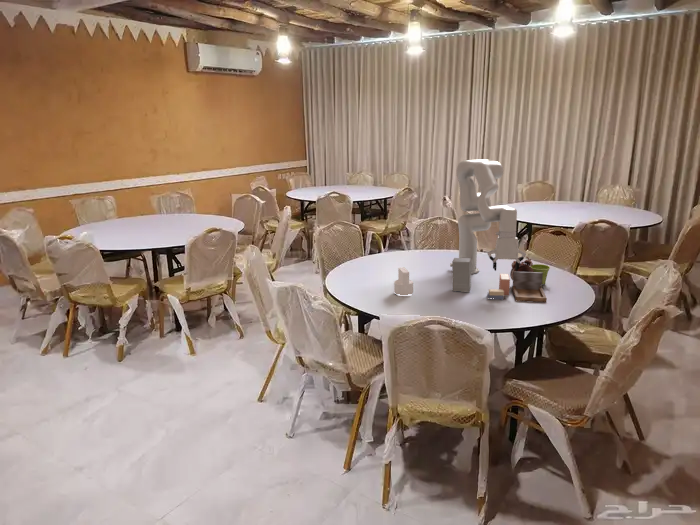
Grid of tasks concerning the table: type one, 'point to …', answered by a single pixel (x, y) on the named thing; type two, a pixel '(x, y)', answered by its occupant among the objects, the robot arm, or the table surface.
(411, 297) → the table surface
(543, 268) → the plant pot
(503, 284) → the salmon pink block
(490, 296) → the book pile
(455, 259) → the skincare box
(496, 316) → the table surface
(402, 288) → the cylinder with rectangular tab
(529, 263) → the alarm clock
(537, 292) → the brown open box
